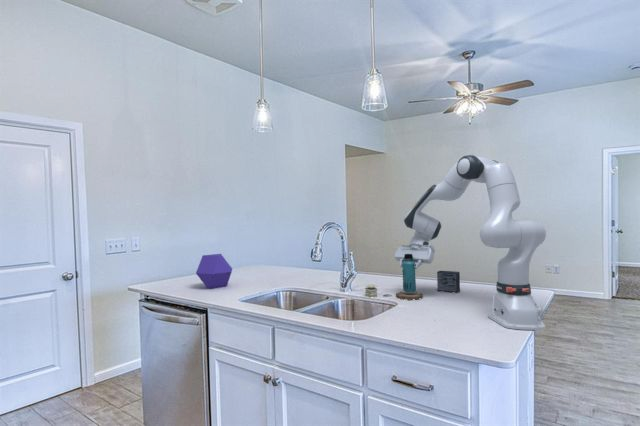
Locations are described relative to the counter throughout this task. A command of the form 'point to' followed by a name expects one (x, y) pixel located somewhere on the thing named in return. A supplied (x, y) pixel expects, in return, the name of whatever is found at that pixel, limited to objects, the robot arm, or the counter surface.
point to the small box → (448, 281)
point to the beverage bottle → (409, 274)
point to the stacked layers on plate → (371, 291)
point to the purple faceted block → (214, 271)
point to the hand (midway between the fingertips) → (408, 267)
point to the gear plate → (409, 295)
